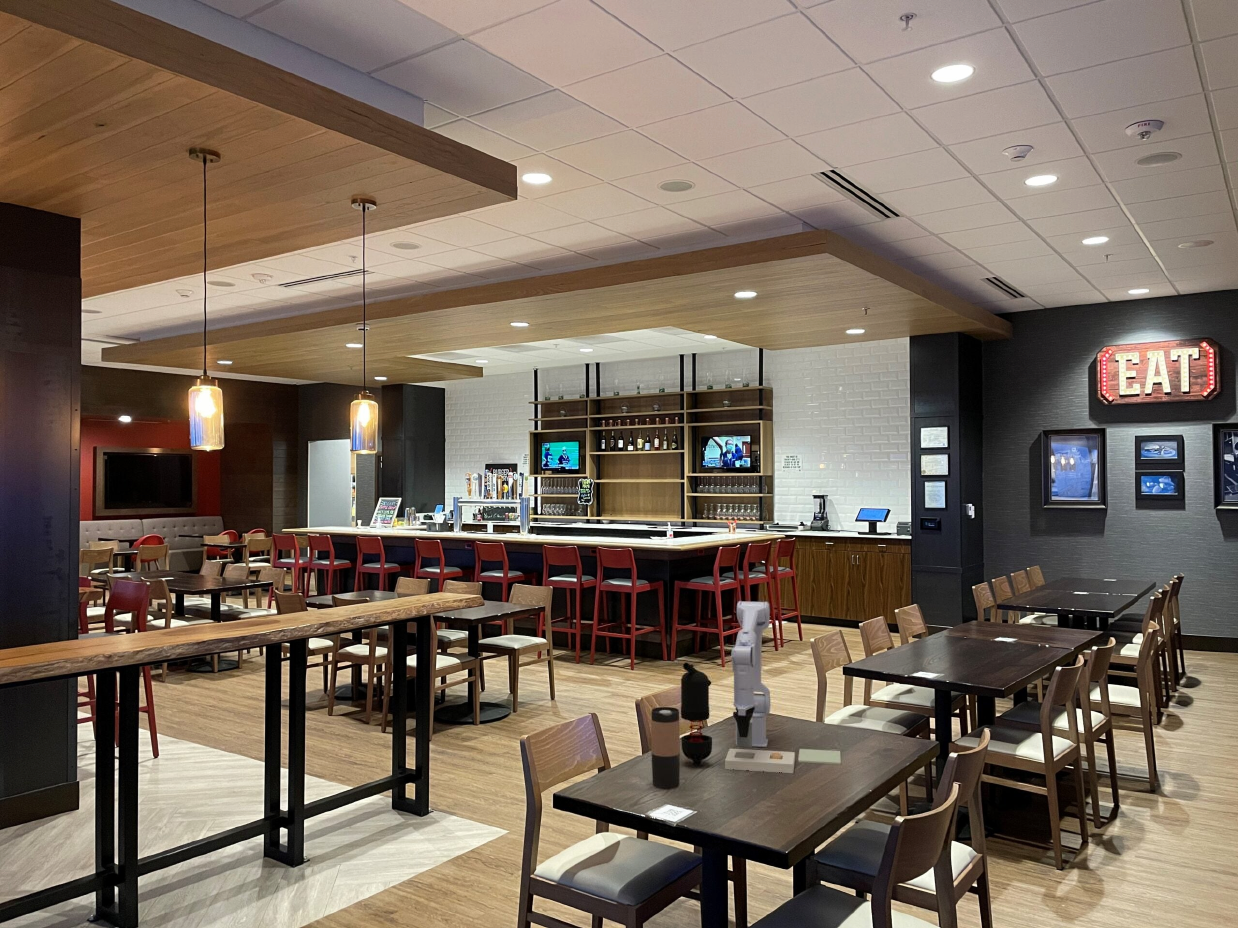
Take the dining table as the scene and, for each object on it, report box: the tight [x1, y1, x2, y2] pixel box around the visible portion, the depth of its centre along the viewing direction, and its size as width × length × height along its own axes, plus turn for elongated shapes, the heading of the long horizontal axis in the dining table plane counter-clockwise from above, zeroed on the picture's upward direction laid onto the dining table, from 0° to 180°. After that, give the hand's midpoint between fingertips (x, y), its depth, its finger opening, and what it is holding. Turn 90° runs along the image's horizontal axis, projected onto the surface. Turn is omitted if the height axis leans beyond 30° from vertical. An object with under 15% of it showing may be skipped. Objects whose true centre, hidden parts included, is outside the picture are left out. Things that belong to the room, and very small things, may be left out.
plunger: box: [771, 753, 781, 759], centre depth 259 cm, size 3×3×2 cm
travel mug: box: [650, 706, 681, 790], centre depth 244 cm, size 8×8×20 cm
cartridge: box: [736, 718, 753, 749], centre depth 262 cm, size 5×5×8 cm
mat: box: [797, 748, 842, 766], centre depth 267 cm, size 12×12×1 cm
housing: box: [724, 748, 796, 774], centre depth 260 cm, size 19×12×2 cm, turn 77°
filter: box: [680, 662, 713, 766], centre depth 263 cm, size 14×9×30 cm
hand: (744, 734), depth 262 cm, fingers closed on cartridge, 5 cm apart
